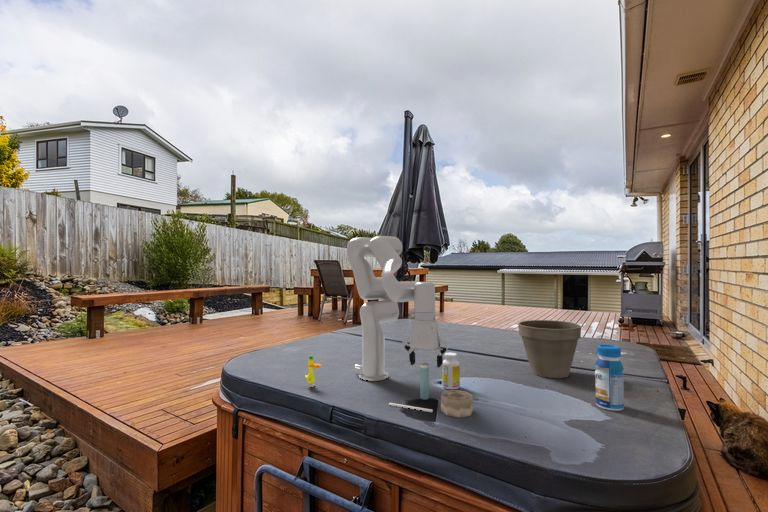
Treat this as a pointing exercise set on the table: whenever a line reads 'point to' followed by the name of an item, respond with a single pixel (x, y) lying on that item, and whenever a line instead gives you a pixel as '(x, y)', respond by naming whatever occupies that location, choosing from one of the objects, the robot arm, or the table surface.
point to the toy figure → (311, 369)
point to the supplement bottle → (451, 372)
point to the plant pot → (550, 346)
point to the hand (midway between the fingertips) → (425, 365)
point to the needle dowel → (424, 381)
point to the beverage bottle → (609, 378)
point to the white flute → (411, 407)
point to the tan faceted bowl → (457, 403)
